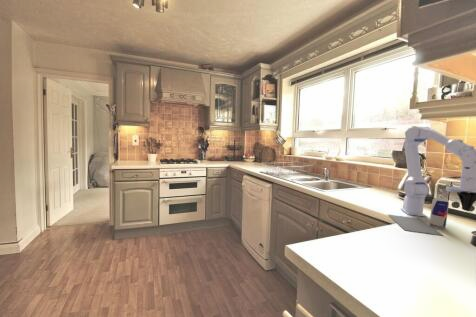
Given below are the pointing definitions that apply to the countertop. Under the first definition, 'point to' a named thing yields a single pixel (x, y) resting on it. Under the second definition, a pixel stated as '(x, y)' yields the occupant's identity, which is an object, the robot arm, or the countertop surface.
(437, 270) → the countertop surface
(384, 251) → the countertop surface
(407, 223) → the mat
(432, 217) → the energy drink
